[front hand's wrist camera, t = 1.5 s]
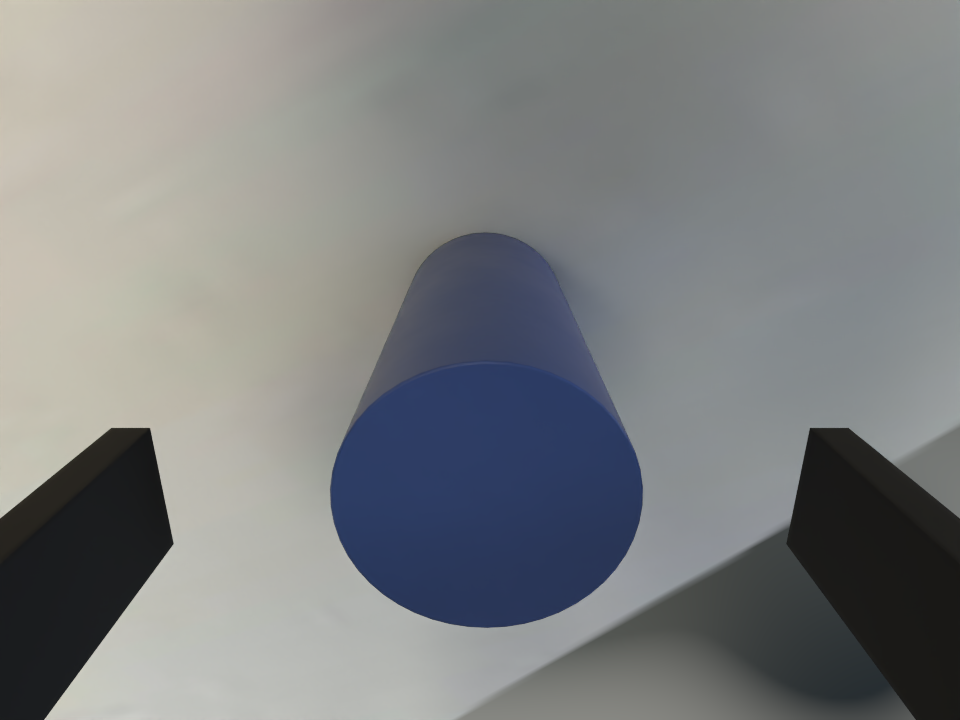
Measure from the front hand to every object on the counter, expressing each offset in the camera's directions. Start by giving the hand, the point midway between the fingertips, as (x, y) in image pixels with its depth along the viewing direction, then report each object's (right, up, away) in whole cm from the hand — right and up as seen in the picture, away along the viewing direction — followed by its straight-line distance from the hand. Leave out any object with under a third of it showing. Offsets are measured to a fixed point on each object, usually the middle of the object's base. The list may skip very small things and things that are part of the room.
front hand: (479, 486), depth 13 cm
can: (0, +4, +11) cm, 11 cm away
